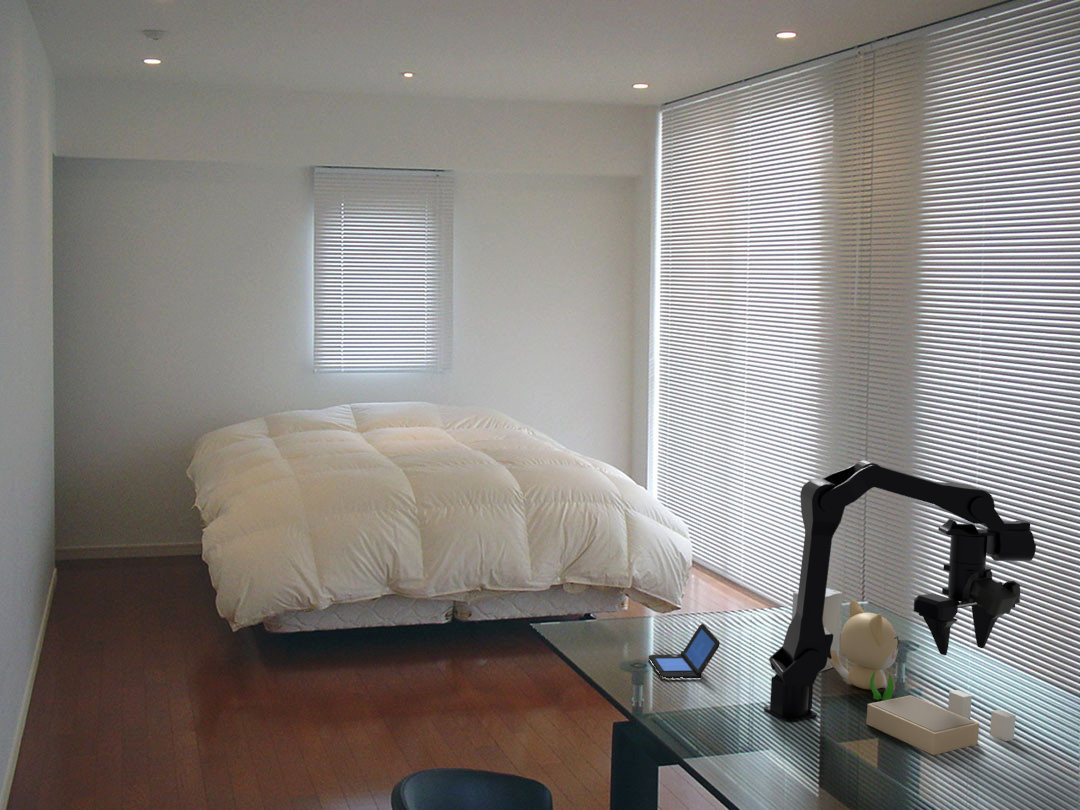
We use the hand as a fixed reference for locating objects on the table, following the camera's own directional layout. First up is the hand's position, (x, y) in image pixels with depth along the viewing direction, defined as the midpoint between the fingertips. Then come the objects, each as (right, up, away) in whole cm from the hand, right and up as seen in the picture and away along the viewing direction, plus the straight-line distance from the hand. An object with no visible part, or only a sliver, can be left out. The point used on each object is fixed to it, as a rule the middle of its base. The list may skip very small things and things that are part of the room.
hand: (962, 651), depth 189 cm
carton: (-10, -12, -8) cm, 17 cm away
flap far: (0, -12, 0) cm, 12 cm away
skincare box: (-19, -9, +24) cm, 32 cm away
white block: (+3, -12, -7) cm, 14 cm away
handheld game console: (-45, -9, +21) cm, 50 cm away
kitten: (-12, -10, +13) cm, 21 cm away
